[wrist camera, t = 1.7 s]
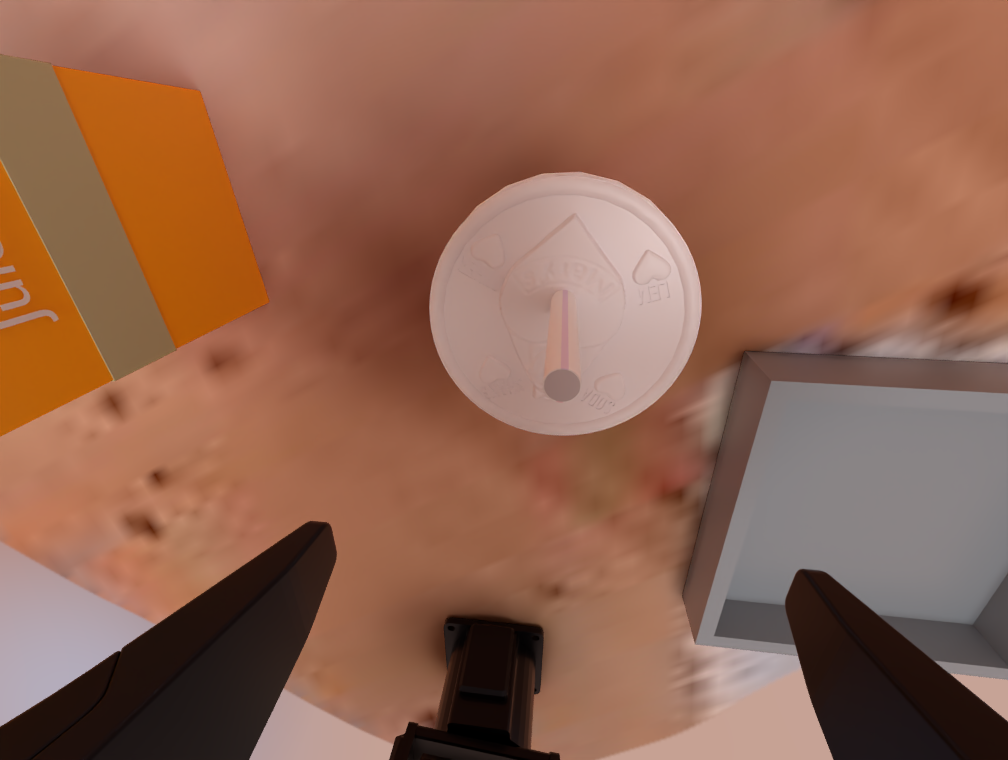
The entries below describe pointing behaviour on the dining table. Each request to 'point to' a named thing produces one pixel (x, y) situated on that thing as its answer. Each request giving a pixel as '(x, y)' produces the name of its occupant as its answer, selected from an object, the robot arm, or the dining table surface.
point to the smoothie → (565, 304)
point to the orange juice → (108, 232)
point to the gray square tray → (861, 503)
